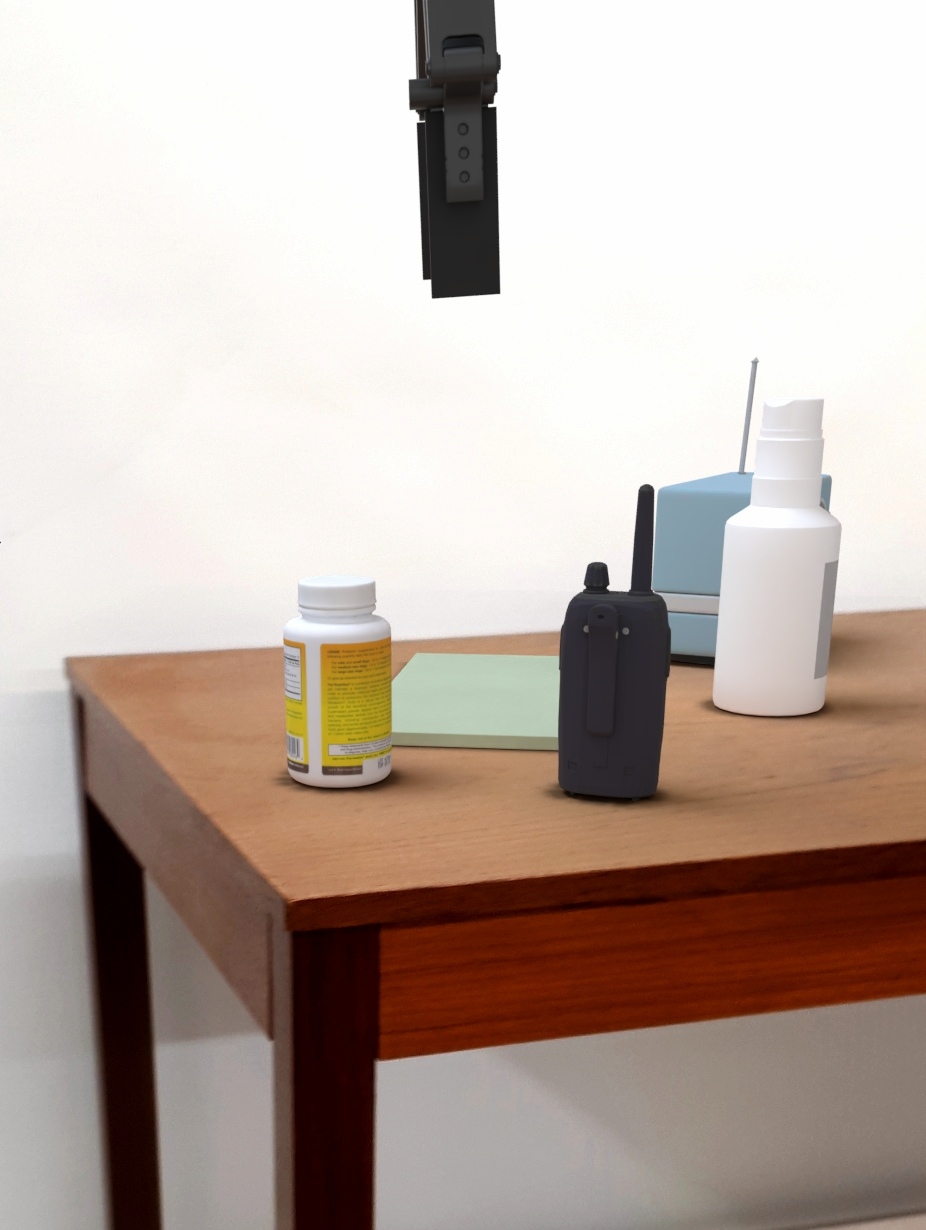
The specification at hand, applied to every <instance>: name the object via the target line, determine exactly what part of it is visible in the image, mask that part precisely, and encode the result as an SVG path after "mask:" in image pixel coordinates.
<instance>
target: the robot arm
mask: <svg viewBox="0 0 926 1230" xmlns="http://www.w3.org/2000/svg"><path fill="white" fill-rule="evenodd" d="M495 5H496V2H495V0H413V16H414V20H413V21H414V42H415V43H414V50H415V51H414V52H415V53H414V54H415V78H409V79H408V107H409V111H415V113H416V114H417V115H418V121H419V122H416V139H417V140H416V143H417V166H418V167H417V168H418V186H419V187H418V193H419V194H418V195H419V215H420V216H419V219H420V243H421V245H420V246H421V269H422V280H423V281H430V289H431V290H430V292H431V293H430V294H431V300H435V299H449V298H451V299H452V298H463V297H465V298H466V297H478V296H490V295H491V296H493V295H501V262H500V261H501V260H500V259H501V258H500V256H501V255H500V253H501V252H500V211H499V210H500V209H499V207H500V206H499V162H498V161H499V160H498V159H499V158H498V157H499V156H498V155H499V153H498V115H497V113H498V112H497V111H498V110H497V106H489V105H494V104H495V96H496V94H498V92H499V91H498V89H499V87H498V86H499V85H498V75H499V74H500V71H501V70H502V57H501V56H502V55H501V54H500V53H499V51H498V45H497V43H498V42H497V23H496V6H495Z"/></svg>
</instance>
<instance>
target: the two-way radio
mask: <svg viewBox="0 0 926 1230" xmlns="http://www.w3.org/2000/svg"><path fill="white" fill-rule="evenodd" d="M635 512H636V513H635V524H634V533H633V534H634V535H633V547H632V548H633V549H632V563H631V576H630V589H628V591H623V590H610V589H609V588H608V587H609V586H610V584H611V583H610V575H609V568H608V565H607V564H606V562H602V561H592V562H590V563H588V564H587V565H586V570H585V575H584V580H583V586H584V587H585V588H584V589H583V590H582V591H580V592H578V593H577V594H575V595H574V596H572V598H571V600H570V601H569V602H568V605H567V608H566V611H565V615H564V620H563V622H562V623H563V624H562V625H561V627H560V636H559V637H560V639H559V655H558V656H559V670H560V687H559V714H558V750H557V751H558V756H557V757H558V759H557V760H558V767H557V780H558V786H559V787H560V789H562V790H564V791H566V792H569V795H571V796H575V795H576V794H580V795H587V796H588V795H589V796H599V797H609V798H620V799H621V798H622V799H632V802H637V801H638V800H639V799H640V798H645V797H651V796H652V795H654V794H655V793H656V792H657V790H658V786H659V778H660V766H661V757H662V747H663V740H664V728H665V716H666V715H665V714H666V699H667V682H668V678H669V677H670V673H671V660H670V657H671V629H670V627H669V622H668V611H667V606H666V602H665V601H664V599H663V597H662V596H660V595H659V594H657V593H653V592H654V591H653V590H652V576H653V560H654V540H655V488H654V486H653V485H651V484H649V483H644V484H642V485H641V486H639V488H638V490H637V501H636V511H635Z"/></svg>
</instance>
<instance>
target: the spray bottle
mask: <svg viewBox="0 0 926 1230" xmlns="http://www.w3.org/2000/svg"><path fill="white" fill-rule="evenodd" d="M824 404H825V399H824V398H822V397H769V398H764V399H763V405H762V406H763V407H762V418H761V419H762V420H761V428H760V429H759V437H757V438H756V444H755V459H754V471H753V472H754V475H753V477H752V489H751V501H750V505H749V506H748V507H746V508H745V509H743V510H742V511H740V512H738V513H737V514H735V515H734V516H732V517H730V518H729V519H728V520H727V522H726V525H725V534H724V548H723V562H722V575H721V589H720V602H719V616H718V629H717V643H716V657H715V665H714V672H713V683H712V684H713V685H712V701H713V704H714V706H715V707H717V708H719V709H721V710H723V711H726V712H731V713H734V714H740V715H747V716H757V717H758V716H759V717H796V716H802V715H807V714H811V713H815V712H818V711H820V710H821V709H822V708H823V707H824V704H825V700H826V691H827V690H826V689H827V680H828V671H829V661H830V650H831V641H832V629H833V622H834V610H835V601H836V600H835V599H836V590H837V581H838V570H839V569H838V568H839V559H840V550H841V540H842V530H843V529H842V527H843V526H842V523H841V522H840V520H839V519H838V518H837V517H836V516H834V515H833V514H832V513H831V512H830V511H829V512H830V513H831V514H830V513H829V512H827V511H826V510H824V509H823V508H822V507H820V506H819V505H820V497H821V486H822V476H821V474H822V468H823V459H824V447H825V438H824V437H823V431H824V430H823V429H822V426H823V417H824V416H823V415H824V406H825V405H824Z"/></svg>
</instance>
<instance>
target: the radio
mask: <svg viewBox="0 0 926 1230" xmlns="http://www.w3.org/2000/svg"><path fill="white" fill-rule="evenodd" d="M759 362H760V361H759V359H758V357H757V356H756V357H754V358H753V360H751V361H750V363H751V368H750V375H749V376H750V377H749V384H748V391H747V392H748V393H747V401H746V409H745V417H744V424H743V425H744V426H743V433H742V440H741V450H740V458H739V465H738V466H739V467H738V471H729V472H726V473H725V472H724V473H720V474H716V475H712V476H711V475H710V476H707V477H703V478H698V479H692V480H689V481H684V482H679V483H675V484H670V485H666V486H662V487H660V488H659V489H658V490H657V495H656V498H657V499H656V512H655V525H654V542H653V564H652V586H651V590H653V593H657V594H659V595H660V596H662V597H663V599H664V601H665V602H666V606H667V611H668V622H669V627H670V629H671V657H670V661H674V662H675V661H676V662H683V663H691V664H701V665H710V666H711V665H712V666H715V657H716V643H717V629H718V616H719V602H720V589H721V575H722V562H723V548H724V534H725V525H726V522H727V520H728V519H729V518H730V517H732V516H734V515H735V514H737V513H738V512H740V511H742V510H743V509H745V508H746V507H748V506H749V505H750V501H751V489H752V477H753V475H754V471H745V468H746V458H747V451H748V445H749V444H748V443H749V436H750V435H749V433H750V427H751V419H752V412H753V411H752V410H753V403H754V395H755V388H756V387H755V386H756V380H757V379H756V377H757V372H758V371H757V370H758V363H759ZM821 476H822V486H821V497H820V505H819V506H820V507H822V508H823V509H824V510H826V511H827V512H829V513H830V514H831V515H832V513H831V511H830V505H831V494H832V484H833V479H832V478H833V477H832V476H831V474H825V473H821Z"/></svg>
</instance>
